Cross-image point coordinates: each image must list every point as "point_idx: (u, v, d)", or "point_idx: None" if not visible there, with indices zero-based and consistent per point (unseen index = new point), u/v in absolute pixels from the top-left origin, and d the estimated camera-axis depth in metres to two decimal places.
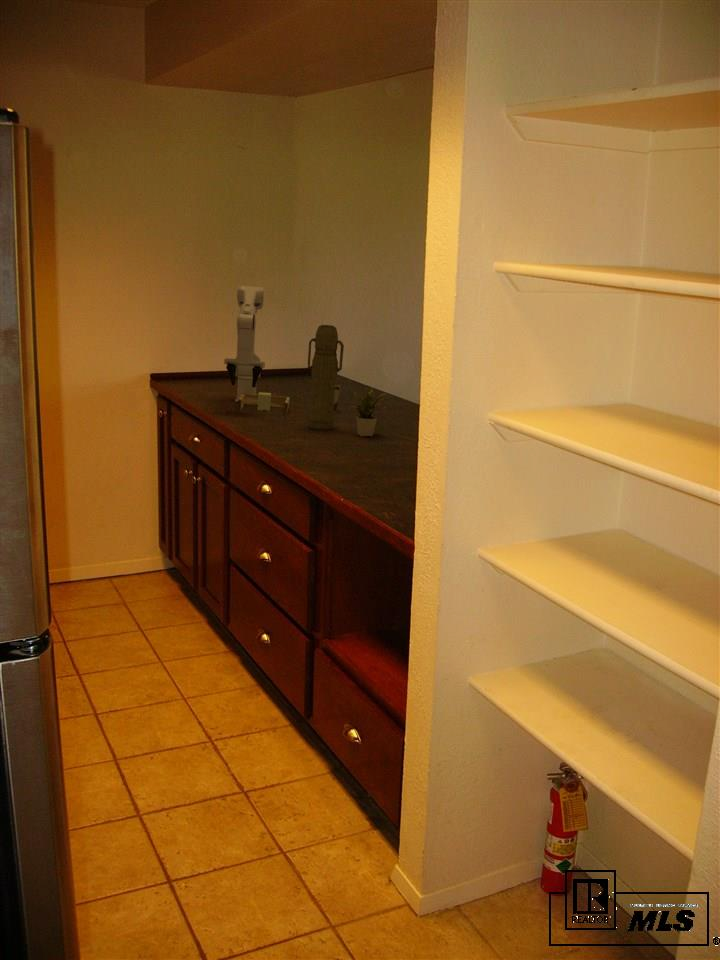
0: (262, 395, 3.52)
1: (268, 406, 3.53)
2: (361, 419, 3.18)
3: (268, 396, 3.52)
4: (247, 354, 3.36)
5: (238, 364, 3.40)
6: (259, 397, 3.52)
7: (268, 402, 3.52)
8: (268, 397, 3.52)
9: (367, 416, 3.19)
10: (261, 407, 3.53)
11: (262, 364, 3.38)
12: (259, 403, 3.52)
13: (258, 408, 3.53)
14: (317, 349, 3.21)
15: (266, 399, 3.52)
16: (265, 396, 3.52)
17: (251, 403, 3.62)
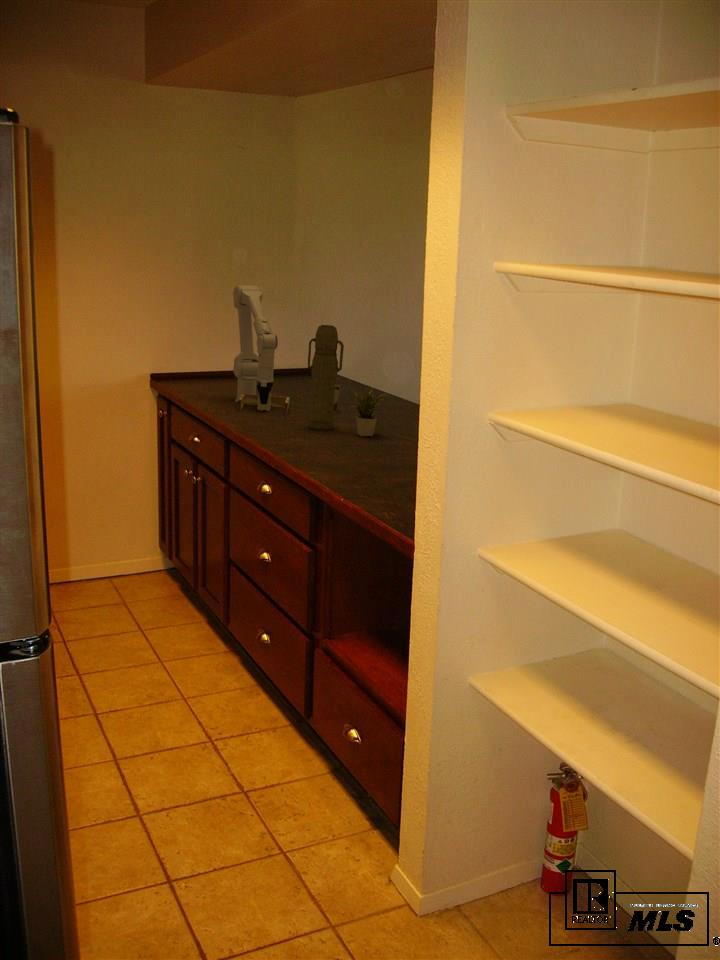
0: None
1: (268, 406, 3.53)
2: (361, 419, 3.18)
3: (268, 396, 3.52)
4: (259, 371, 3.50)
5: None
6: (259, 397, 3.52)
7: (268, 402, 3.52)
8: (268, 397, 3.52)
9: (367, 416, 3.19)
10: (261, 407, 3.53)
11: (261, 382, 3.46)
12: (259, 403, 3.52)
13: (258, 408, 3.53)
14: (317, 349, 3.21)
15: None
16: None
17: (251, 403, 3.62)
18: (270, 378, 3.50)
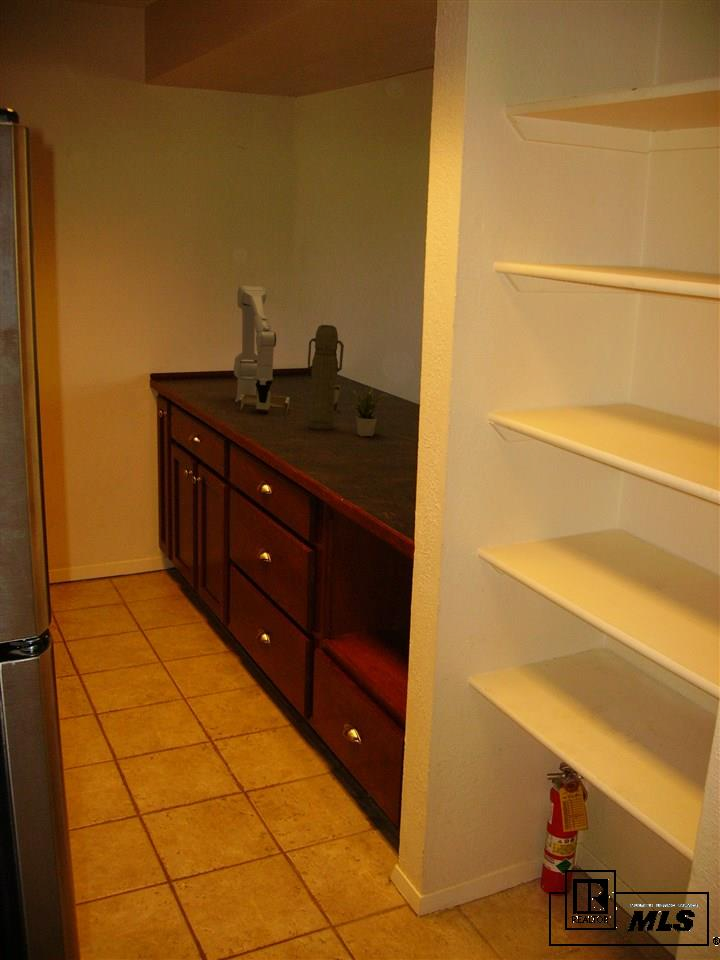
0: None
1: (267, 404, 3.47)
2: (361, 419, 3.18)
3: None
4: (257, 369, 3.44)
5: None
6: (258, 395, 3.46)
7: (267, 400, 3.46)
8: (267, 395, 3.46)
9: (367, 416, 3.19)
10: (260, 406, 3.47)
11: (260, 380, 3.40)
12: (258, 401, 3.46)
13: (257, 406, 3.47)
14: (317, 349, 3.21)
15: None
16: None
17: (251, 403, 3.62)
18: (269, 376, 3.45)
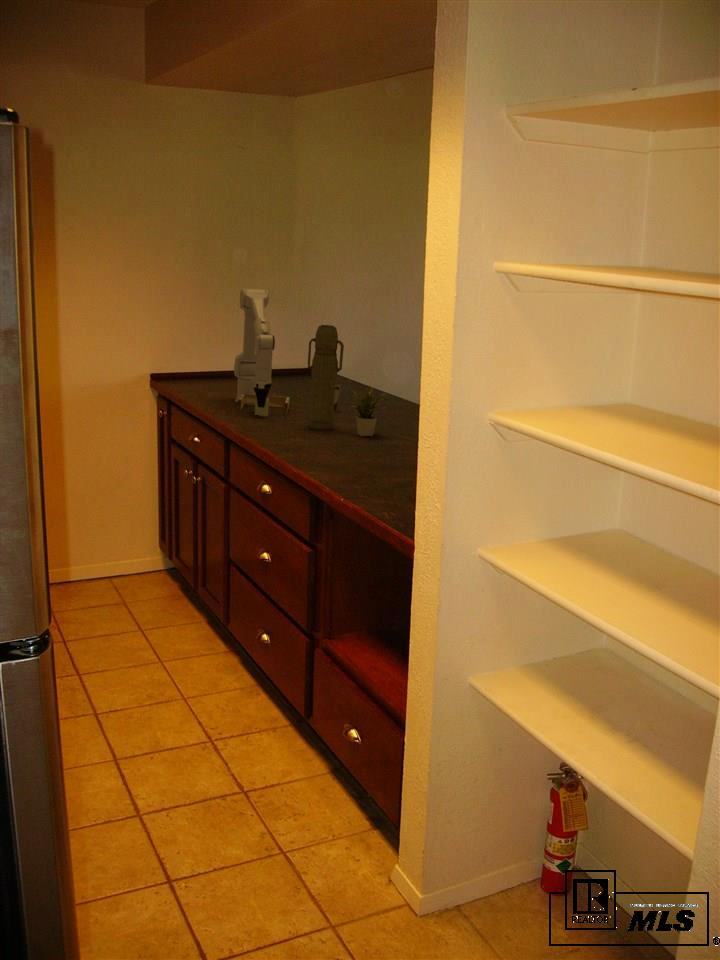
0: None
1: (266, 411, 3.42)
2: (361, 419, 3.18)
3: (266, 401, 3.41)
4: (256, 372, 3.39)
5: None
6: (256, 402, 3.41)
7: (266, 407, 3.42)
8: (266, 402, 3.41)
9: (367, 416, 3.19)
10: (258, 413, 3.42)
11: (258, 384, 3.35)
12: (256, 408, 3.42)
13: (255, 413, 3.42)
14: (317, 349, 3.21)
15: None
16: None
17: (251, 403, 3.62)
18: (268, 380, 3.40)
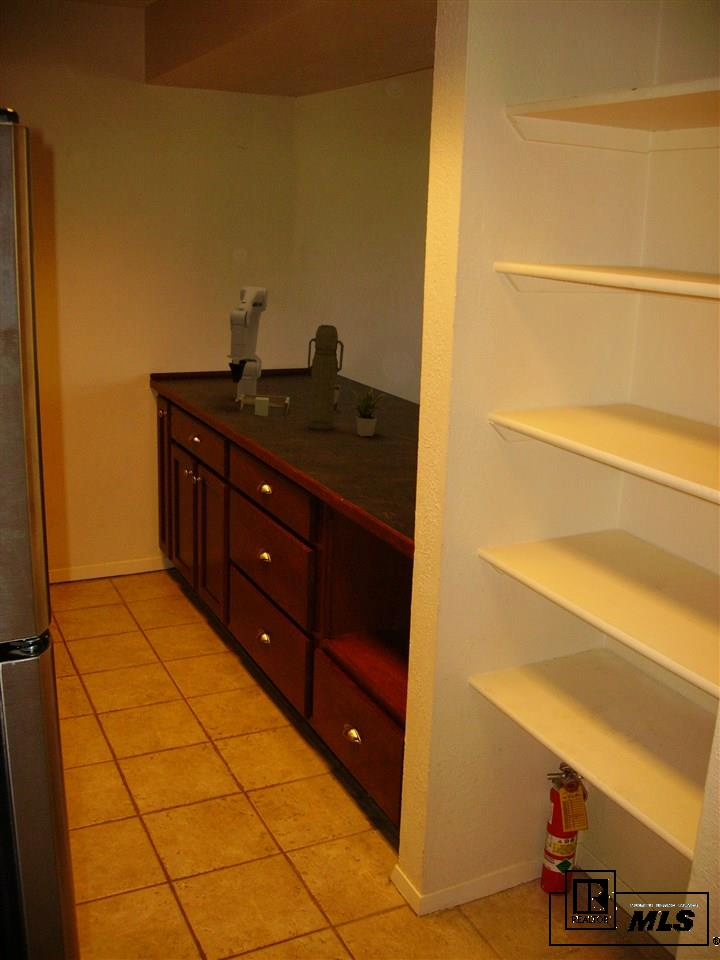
0: (260, 400, 3.41)
1: (266, 411, 3.42)
2: (361, 419, 3.18)
3: (266, 401, 3.41)
4: (231, 348, 3.45)
5: None
6: (256, 402, 3.41)
7: (266, 407, 3.42)
8: (266, 402, 3.41)
9: (367, 416, 3.19)
10: (258, 413, 3.42)
11: (233, 360, 3.41)
12: (256, 408, 3.42)
13: (255, 413, 3.42)
14: (317, 349, 3.21)
15: (264, 404, 3.41)
16: (263, 401, 3.41)
17: (251, 403, 3.62)
18: (243, 355, 3.45)
